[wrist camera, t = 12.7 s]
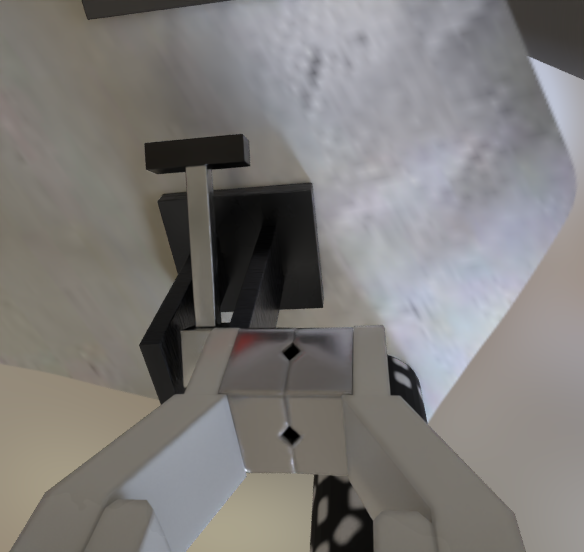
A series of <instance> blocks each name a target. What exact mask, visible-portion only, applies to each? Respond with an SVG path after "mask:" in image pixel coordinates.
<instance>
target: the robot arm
mask: <svg viewBox="0 0 584 552" xmlns="http://www.w3.org/2000/svg"><path fill="white" fill-rule="evenodd" d="M246 473H301V474H317V475H333V476H348V479H349V481H350V483H351V484H352V486H353V488H354V489H355V491H356V493H357V495H358V496H359V498H360V500H361V501H362V503H363V505H364V506H365V508H366V510H367V512H368V513H369V515H370V517H371V518H372V520H373V538H374V552H526V551H525V547H524V544H523V540H522V537H521V534H520V530H519V527H518V524H517V520H516V517H515V514H514V512H513V511H512V510H511V509H510V508H509V507H508V506H507V505H506V504H505V503H504V502H503V501H502V500H501V499H500V498H499V497H498V496H497V495H496V494H495V493H494V492H493V491H492V490H491V489H490V488H489V487H488V486H487V485H486V484H485V483H484V482H483V481H482V480H481V479H480V478H479V477H478V476H477V474H475V472H474V471H473V470H472V469H471V468H470V467H469V466H468V465H467V464H466V463H465V462H464V461H463V460H462V459H461V458H460V457H459V456H458V455H457V454H456V453H455V452H454V451H453V450H452V449H451V448H450V447H449V446H448V445H447V444H446V442H445V441H444V440H443V439H442V438H441V437H440V436H439V435H438V434H437V433H436V432H435V431H434V430H433V429H432V428H431V427H430V426H429V425H428V424H427V423H426V422H425V421H424V420H423V419H422V418H421V417H420V416H419V415H418V414H417V413H416V412H415V411H414V410H413V408H412V407H411V406H410V405H409V404H408V403H407V402H406V401H405V400H404V399H403V398H402V397H401V396H392V395H390V384H389V372H388V360H387V348H386V336H385V328H384V326H383V325H371V326H354V331H353V327H336V328H214V329H213V330H212V331H210V333H209V334H208V337H207V339H206V342H205V344H204V346H203V349H202V351H201V354H200V356H199V358H198V361H197V363H196V366H195V368H194V371H193V373H192V375H191V378H190V380H189V383H188V385H187V387H186V390H185V392H184V394H175V395H173V396H172V397H171V398H170V399H168V400H167V401H166V402H164V403H163V404H162V405H160V406H159V407H158V408H156V409H155V410H154V411H153V412H151V413H150V414H148V415H147V416H146V417H144V418H143V419H142V420H141V421H139V422H138V423H137V424H135V425H134V426H133V427H131V428H130V429H129V430H127V431H126V432H125V433H123V434H122V435H121V436H119V437H118V438H117V439H115V440H114V441H113V442H111V443H110V444H109V445H107V446H106V447H105V448H103V449H102V450H101V451H100V452H98V453H97V454H96V455H94V456H93V457H92V458H90V459H89V460H88V461H86V462H85V463H84V464H82V465H81V466H80V467H78V468H77V469H76V470H74V471H73V472H72V473H70V474H69V475H68V476H67V477H65V478H64V479H63V480H61V481H60V482H59V483H57V484H56V485H55V486H53V487H52V488H51V489H50V490H48V491H47V492H45V494H44V495H43V497H42V499H41V501H40V502H39V504H38V505H37V507H36V509H35V510H34V512H33V514H32V515H31V517H30V519H29V520H28V522H27V524H26V525H25V527H24V529H23V530H22V532H21V534H20V535H19V537H18V539H17V540H16V542H15V543H14V545H13V547H12V548H11V550H10V552H186V551H187V549H188V548H189V547H190V546H191V544H192V543H193V542H194V541H195V539H196V538H197V537H198V536H199V534H200V533H201V532H202V531H203V529H204V528H205V527H206V526H207V524H208V523H209V522H210V521H211V520H212V518H213V517H214V516H215V515H216V513H217V512H218V511H219V510H220V508H221V507H222V506H223V505H224V504H225V502H226V501H227V500H228V499H229V497H230V496H231V495H232V494H233V492H234V491H235V490H236V489H237V487H238V486H239V485H240V484H241V483H242V481H243V480H244V479H245V477H246Z"/></svg>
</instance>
